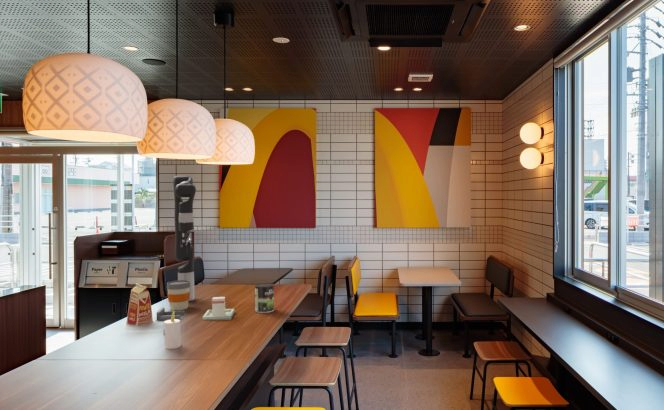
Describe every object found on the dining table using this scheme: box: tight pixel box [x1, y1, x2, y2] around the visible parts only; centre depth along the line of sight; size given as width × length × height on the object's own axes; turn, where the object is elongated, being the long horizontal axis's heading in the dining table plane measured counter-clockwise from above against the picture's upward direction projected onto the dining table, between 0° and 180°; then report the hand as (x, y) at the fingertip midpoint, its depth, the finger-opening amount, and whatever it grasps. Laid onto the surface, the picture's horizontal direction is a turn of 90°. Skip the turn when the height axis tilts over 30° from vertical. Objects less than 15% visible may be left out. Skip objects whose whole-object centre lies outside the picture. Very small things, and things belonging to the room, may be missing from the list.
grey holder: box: [155, 307, 188, 322], centre depth 220 cm, size 11×13×5 cm
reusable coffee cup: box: [166, 279, 190, 311], centre depth 239 cm, size 13×13×15 cm
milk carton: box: [125, 282, 153, 327], centre depth 212 cm, size 9×9×20 cm
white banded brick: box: [211, 296, 226, 316], centre depth 222 cm, size 4×6×9 cm
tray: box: [202, 308, 235, 322], centre depth 222 cm, size 14×14×2 cm
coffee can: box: [254, 282, 275, 314], centre depth 232 cm, size 10×10×14 cm
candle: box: [163, 310, 182, 350], centre depth 178 cm, size 6×6×15 cm
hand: (186, 251), depth 230 cm, fingers open, 8 cm apart
